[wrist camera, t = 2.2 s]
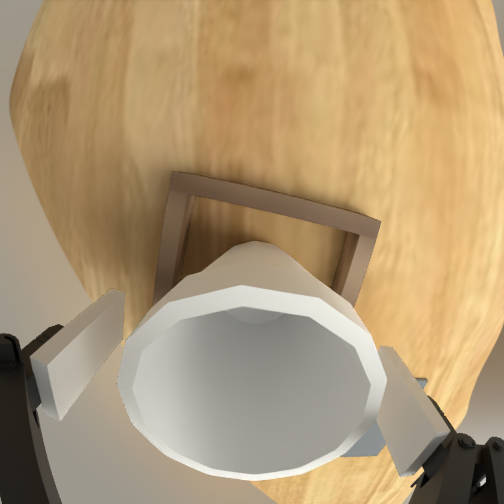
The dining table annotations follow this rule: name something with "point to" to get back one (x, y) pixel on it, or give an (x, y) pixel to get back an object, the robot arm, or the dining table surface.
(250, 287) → the foam cup
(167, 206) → the frame
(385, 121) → the dining table surface
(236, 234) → the dining table surface
